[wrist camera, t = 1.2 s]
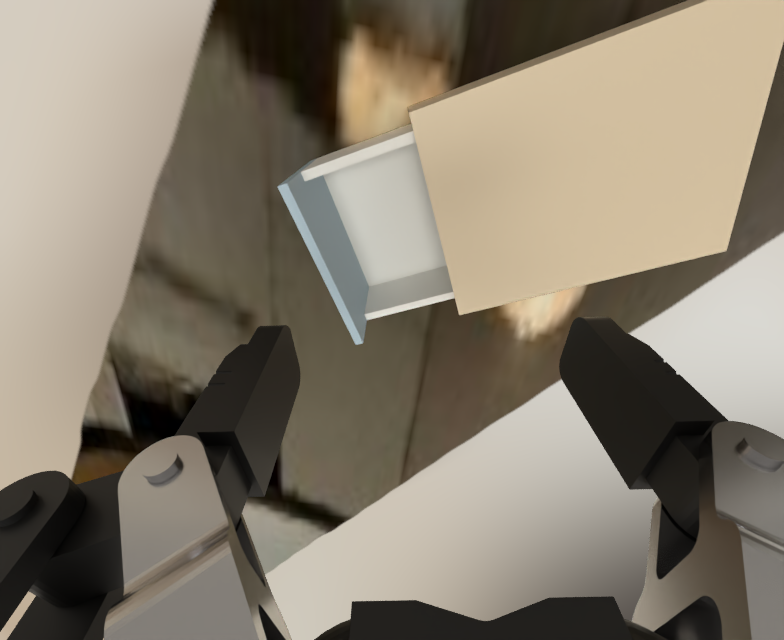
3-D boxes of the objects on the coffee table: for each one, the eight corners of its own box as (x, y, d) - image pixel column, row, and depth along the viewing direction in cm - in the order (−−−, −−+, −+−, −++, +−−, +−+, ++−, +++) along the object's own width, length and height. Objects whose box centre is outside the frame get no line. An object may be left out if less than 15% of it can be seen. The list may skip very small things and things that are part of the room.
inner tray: (679, 24, 20) (815, -7, 13) (654, 212, 27) (738, 254, 20) (310, 160, 25) (277, 186, 18) (365, 291, 32) (355, 344, 25)
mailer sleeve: (690, -1, 20) (804, -37, 14) (659, 217, 28) (726, 250, 22) (407, 106, 24) (408, 112, 18) (448, 273, 31) (459, 315, 26)
